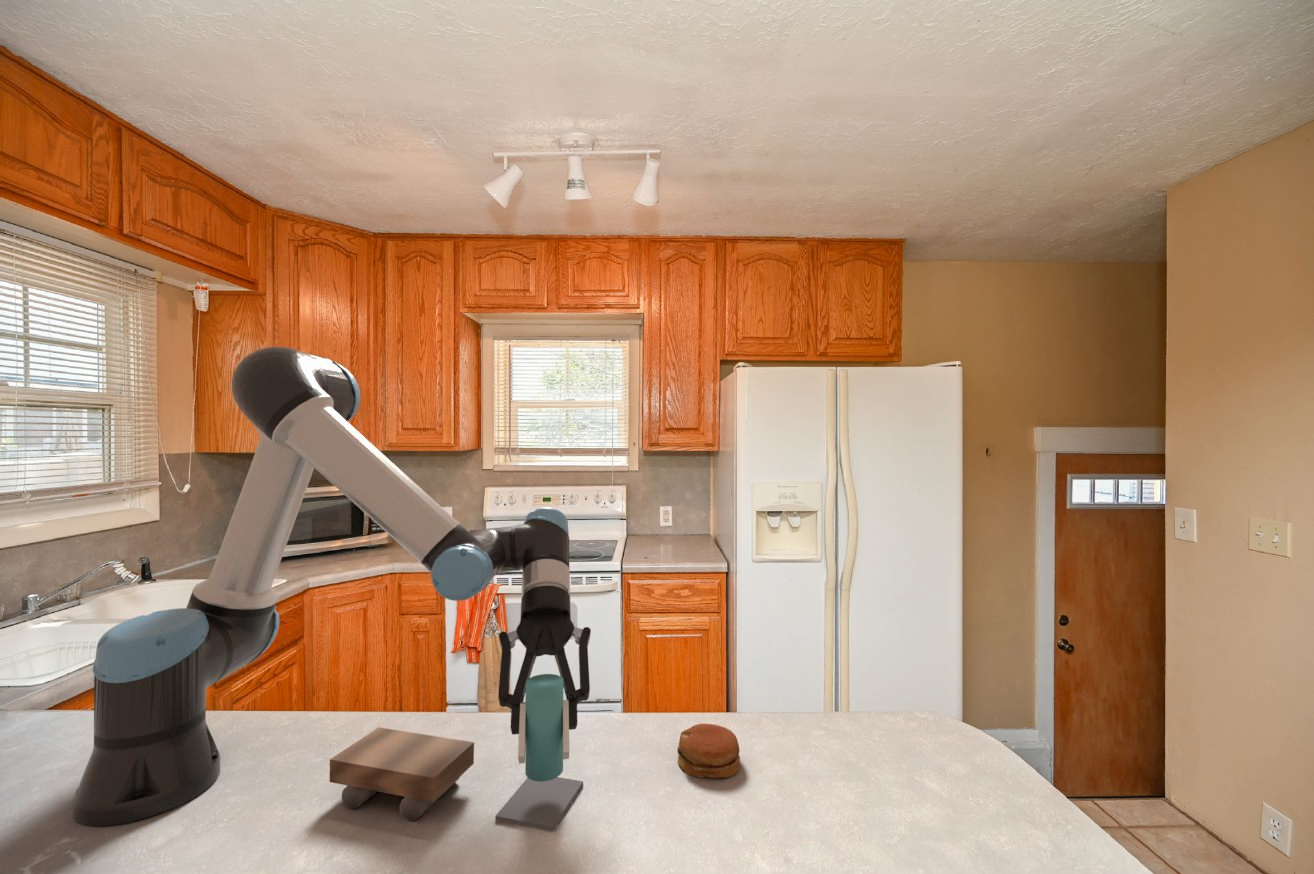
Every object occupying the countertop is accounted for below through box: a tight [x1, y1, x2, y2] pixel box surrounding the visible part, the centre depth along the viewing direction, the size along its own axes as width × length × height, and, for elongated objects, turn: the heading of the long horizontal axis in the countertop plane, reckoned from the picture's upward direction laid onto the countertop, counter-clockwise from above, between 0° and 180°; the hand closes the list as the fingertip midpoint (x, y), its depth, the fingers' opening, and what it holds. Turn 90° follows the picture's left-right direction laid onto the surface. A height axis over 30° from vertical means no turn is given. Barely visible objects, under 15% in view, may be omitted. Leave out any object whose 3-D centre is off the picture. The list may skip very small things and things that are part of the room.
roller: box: [524, 673, 564, 781], centre depth 78 cm, size 5×5×12 cm
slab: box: [329, 726, 475, 822], centre depth 79 cm, size 16×9×6 cm, turn 75°
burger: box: [676, 723, 741, 779], centre depth 87 cm, size 10×9×5 cm
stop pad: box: [494, 776, 584, 833], centre depth 77 cm, size 8×10×1 cm
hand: (544, 757), depth 74 cm, fingers closed on roller, 5 cm apart
